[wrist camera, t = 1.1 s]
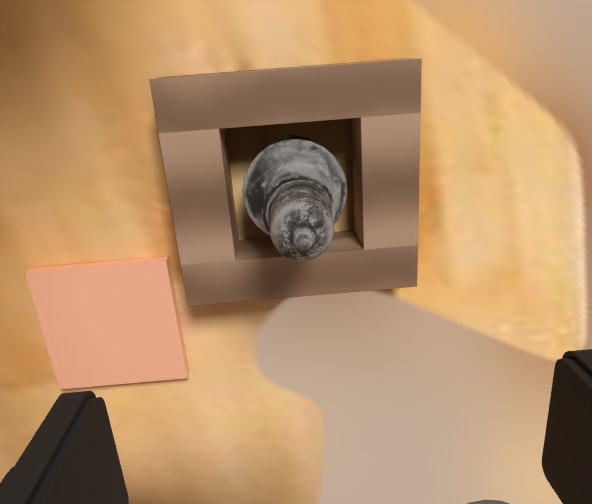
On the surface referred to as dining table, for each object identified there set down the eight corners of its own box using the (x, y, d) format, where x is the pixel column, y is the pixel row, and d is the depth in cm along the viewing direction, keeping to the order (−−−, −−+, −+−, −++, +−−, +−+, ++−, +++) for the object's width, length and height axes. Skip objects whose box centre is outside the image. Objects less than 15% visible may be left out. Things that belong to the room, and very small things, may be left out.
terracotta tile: (30, 267, 33) (24, 272, 32) (168, 256, 33) (166, 260, 32) (63, 382, 36) (59, 389, 35) (188, 371, 36) (187, 378, 35)
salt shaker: (358, 180, 32) (406, 248, 20) (289, 240, 33) (299, 335, 22) (295, 109, 30) (311, 140, 19) (225, 175, 31) (200, 242, 20)
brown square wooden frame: (162, 77, 29) (149, 79, 25) (404, 58, 29) (421, 58, 26) (195, 281, 33) (187, 306, 30) (402, 264, 34) (417, 286, 30)
